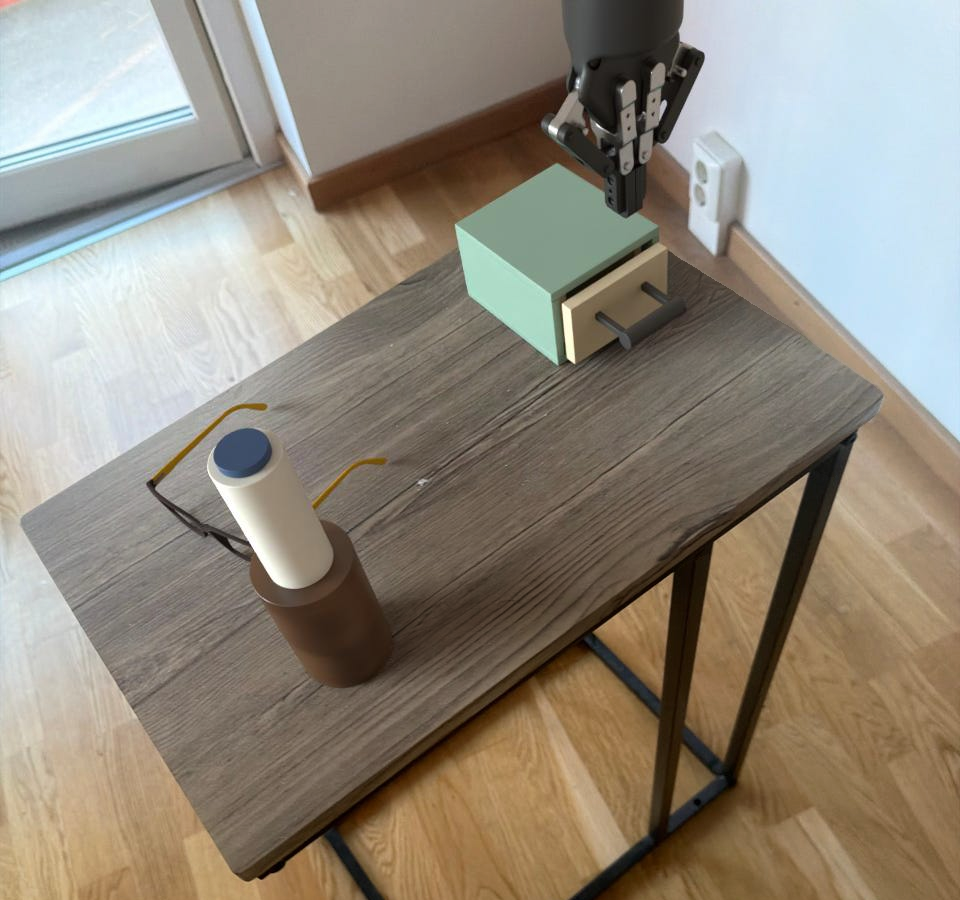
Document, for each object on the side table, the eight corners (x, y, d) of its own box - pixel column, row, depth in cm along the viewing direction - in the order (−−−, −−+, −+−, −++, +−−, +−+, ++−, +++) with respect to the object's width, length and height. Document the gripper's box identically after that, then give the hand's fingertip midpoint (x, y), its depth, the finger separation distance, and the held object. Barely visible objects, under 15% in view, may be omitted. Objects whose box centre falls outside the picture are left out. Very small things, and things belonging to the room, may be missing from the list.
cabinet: (658, 300, 84) (659, 225, 77) (558, 366, 82) (550, 295, 75) (563, 236, 91) (557, 162, 84) (468, 295, 88) (454, 223, 82)
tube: (333, 529, 61) (279, 413, 52) (334, 583, 59) (278, 472, 50) (269, 540, 62) (204, 427, 53) (267, 594, 59) (199, 486, 50)
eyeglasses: (157, 519, 79) (135, 489, 76) (267, 407, 84) (251, 374, 81) (278, 587, 74) (261, 557, 70) (388, 462, 79) (377, 429, 75)
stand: (390, 600, 71) (352, 510, 62) (394, 680, 68) (354, 596, 58) (302, 615, 72) (250, 528, 63) (301, 695, 68) (246, 614, 59)
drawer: (704, 330, 80) (708, 273, 75) (611, 393, 78) (609, 338, 73) (576, 243, 88) (572, 187, 83) (489, 297, 86) (479, 243, 81)
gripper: (575, 14, 52) (590, 275, 67) (749, -83, 55) (727, 188, 70) (495, -25, 56) (526, 230, 71) (662, -115, 59) (658, 149, 73)
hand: (626, 209), depth 70 cm, fingers closed
